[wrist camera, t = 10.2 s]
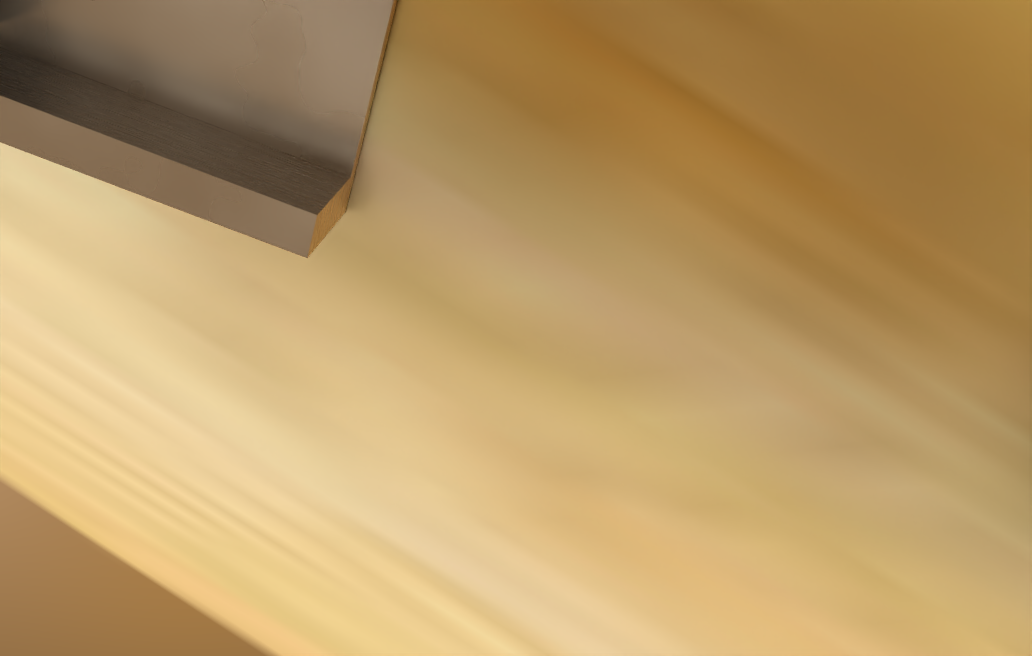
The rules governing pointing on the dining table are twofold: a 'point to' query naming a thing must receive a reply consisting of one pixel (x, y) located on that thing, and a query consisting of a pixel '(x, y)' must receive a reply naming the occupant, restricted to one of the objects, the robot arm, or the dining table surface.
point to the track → (201, 102)
